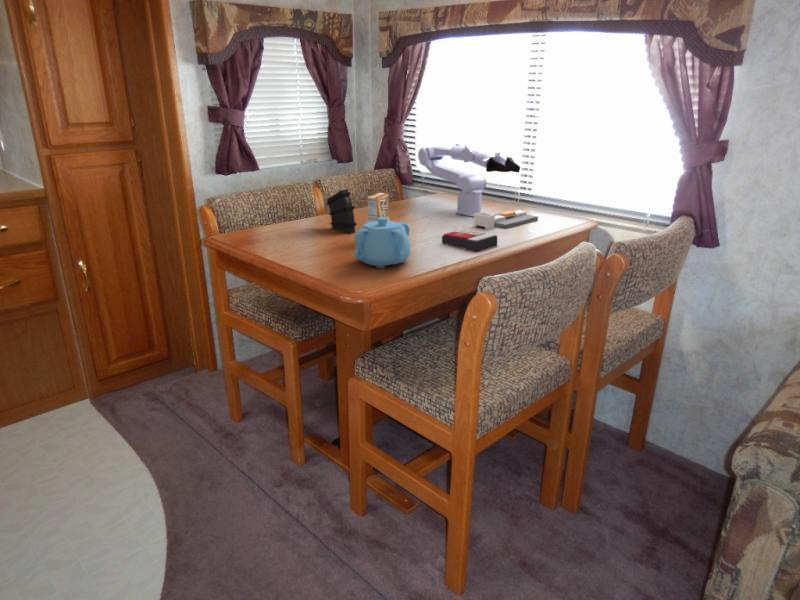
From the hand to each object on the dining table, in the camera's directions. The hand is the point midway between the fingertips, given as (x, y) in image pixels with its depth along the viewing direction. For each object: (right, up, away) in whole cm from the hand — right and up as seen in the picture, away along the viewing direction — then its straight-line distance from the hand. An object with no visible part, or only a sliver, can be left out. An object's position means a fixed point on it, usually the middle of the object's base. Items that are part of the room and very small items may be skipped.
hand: (512, 169), depth 209 cm
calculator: (-18, -30, -21) cm, 41 cm away
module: (-10, -21, +1) cm, 24 cm away
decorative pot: (-47, -37, -39) cm, 71 cm away
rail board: (0, -18, +10) cm, 20 cm away
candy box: (-49, -28, -15) cm, 58 cm away
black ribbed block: (-63, -23, -1) cm, 67 cm away
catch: (0, -16, +9) cm, 18 cm away
